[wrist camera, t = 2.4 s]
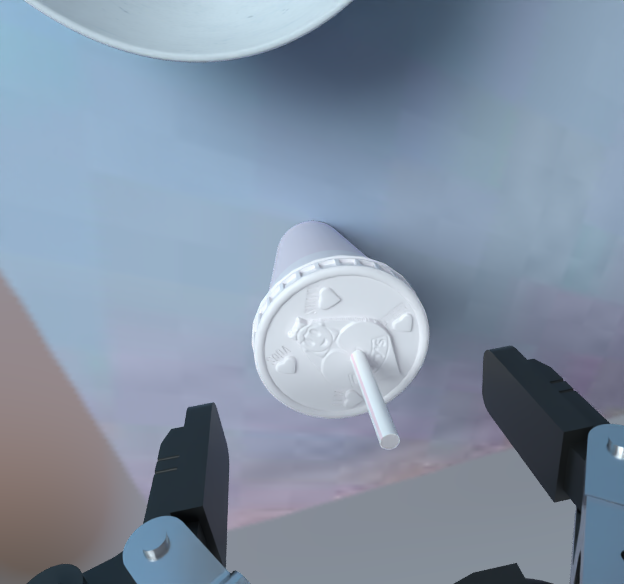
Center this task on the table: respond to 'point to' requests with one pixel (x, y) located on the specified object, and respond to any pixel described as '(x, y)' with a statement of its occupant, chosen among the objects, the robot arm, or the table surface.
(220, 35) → the chinaware
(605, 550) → the robot arm
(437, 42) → the table surface
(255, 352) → the smoothie
